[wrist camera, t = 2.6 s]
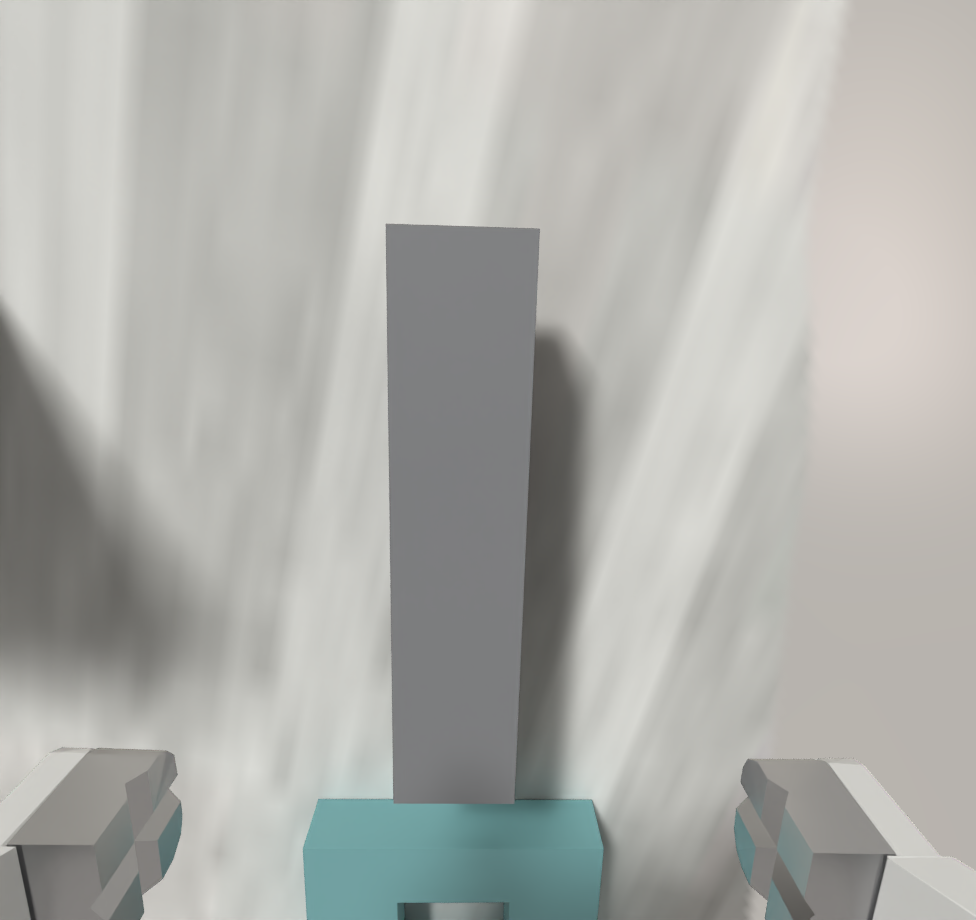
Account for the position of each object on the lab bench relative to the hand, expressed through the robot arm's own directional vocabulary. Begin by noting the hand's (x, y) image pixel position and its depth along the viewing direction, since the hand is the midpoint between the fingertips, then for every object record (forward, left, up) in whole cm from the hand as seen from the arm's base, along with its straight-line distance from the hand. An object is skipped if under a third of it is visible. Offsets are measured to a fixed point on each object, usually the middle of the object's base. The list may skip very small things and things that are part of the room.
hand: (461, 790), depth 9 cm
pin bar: (0, 0, -15) cm, 15 cm away
